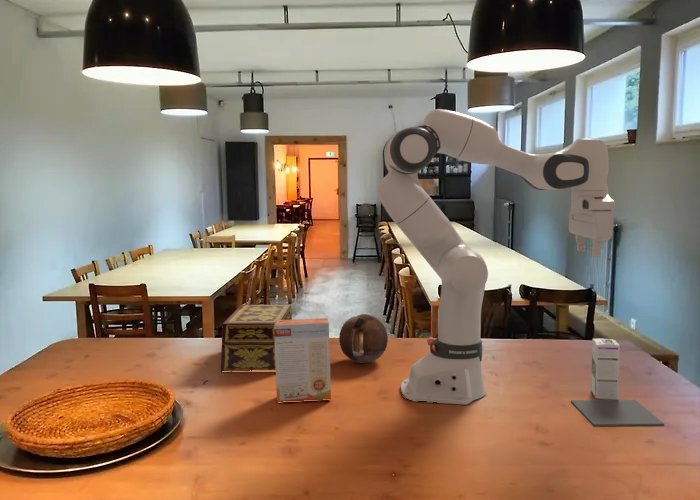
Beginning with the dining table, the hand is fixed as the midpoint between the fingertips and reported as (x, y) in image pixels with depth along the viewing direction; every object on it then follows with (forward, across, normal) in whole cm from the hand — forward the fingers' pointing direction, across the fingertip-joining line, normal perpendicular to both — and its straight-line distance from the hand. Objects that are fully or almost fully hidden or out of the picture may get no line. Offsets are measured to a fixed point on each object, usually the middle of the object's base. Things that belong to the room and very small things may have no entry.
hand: (588, 253), depth 151 cm
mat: (+36, +18, 0) cm, 41 cm away
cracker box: (+35, +8, -76) cm, 84 cm away
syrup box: (+36, +7, +2) cm, 37 cm away
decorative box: (+35, -26, -93) cm, 103 cm away
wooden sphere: (+35, -21, -60) cm, 73 cm away
